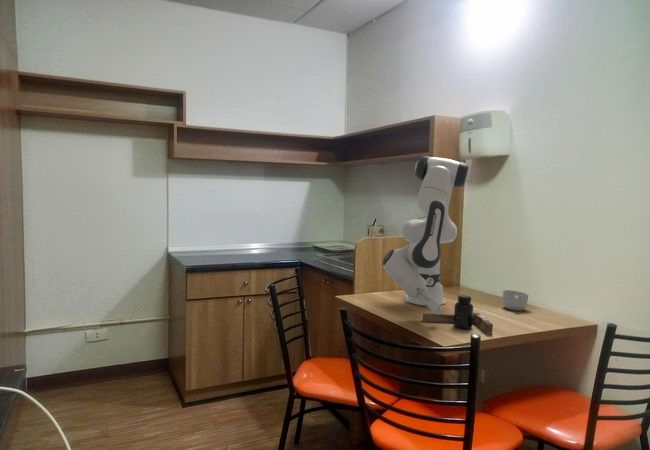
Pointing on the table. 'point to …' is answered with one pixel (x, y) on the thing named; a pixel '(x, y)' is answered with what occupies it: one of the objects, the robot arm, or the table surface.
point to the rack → (449, 318)
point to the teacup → (514, 300)
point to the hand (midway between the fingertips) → (439, 312)
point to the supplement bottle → (463, 313)
